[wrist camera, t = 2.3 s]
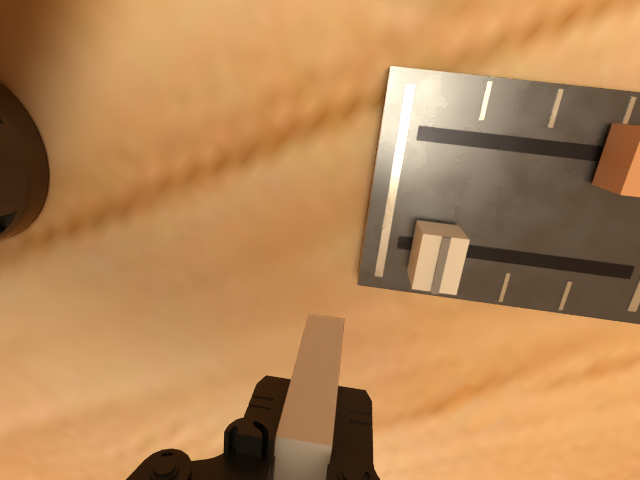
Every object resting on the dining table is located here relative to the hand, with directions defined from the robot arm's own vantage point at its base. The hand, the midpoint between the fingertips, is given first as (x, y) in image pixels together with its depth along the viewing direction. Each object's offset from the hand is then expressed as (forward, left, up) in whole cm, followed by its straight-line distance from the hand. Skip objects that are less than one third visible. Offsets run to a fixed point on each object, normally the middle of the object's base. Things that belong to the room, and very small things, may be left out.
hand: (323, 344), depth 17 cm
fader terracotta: (+18, +8, -14) cm, 24 cm away
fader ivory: (+7, 0, -14) cm, 16 cm away
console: (+13, +4, -17) cm, 21 cm away
